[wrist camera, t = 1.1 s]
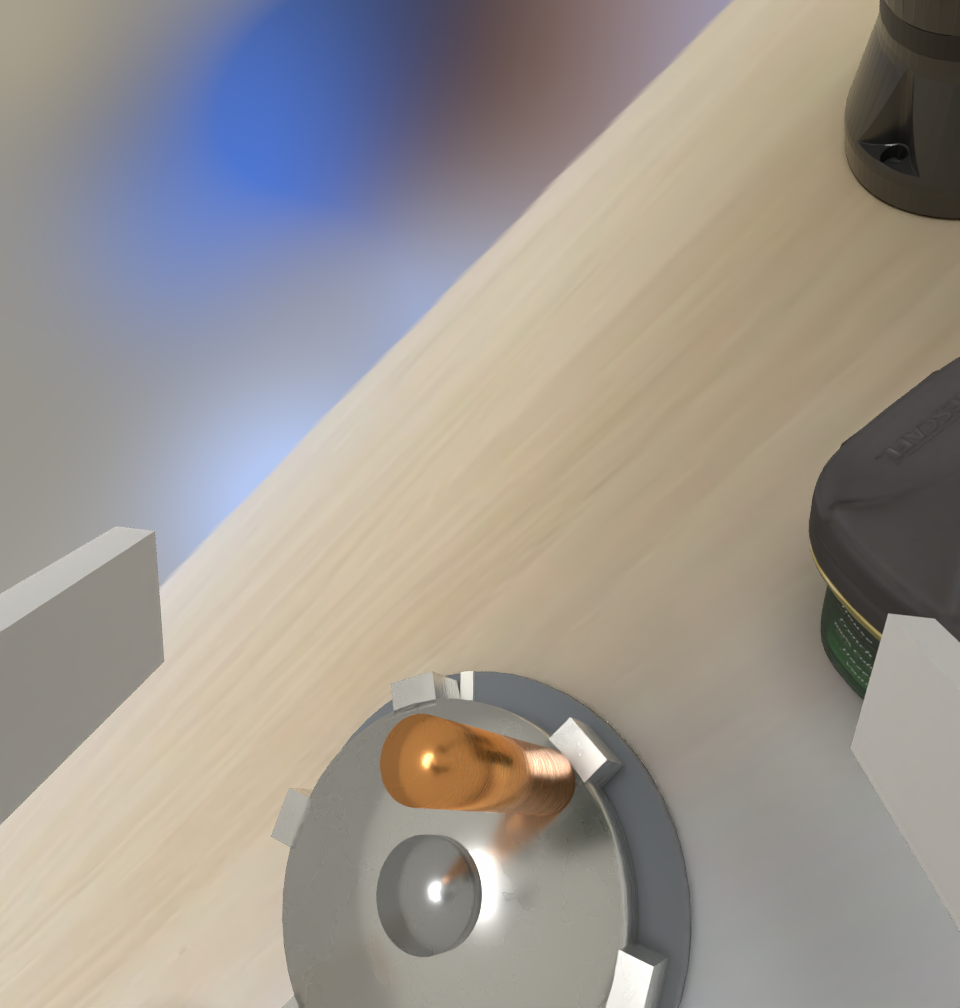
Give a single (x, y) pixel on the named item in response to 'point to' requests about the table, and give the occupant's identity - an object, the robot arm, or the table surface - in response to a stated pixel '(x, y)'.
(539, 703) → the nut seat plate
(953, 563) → the coffee jar
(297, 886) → the lugged metal dome
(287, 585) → the table surface
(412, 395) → the table surface
